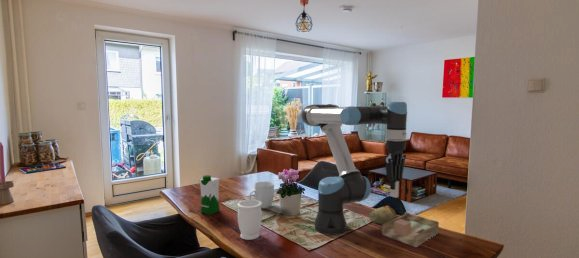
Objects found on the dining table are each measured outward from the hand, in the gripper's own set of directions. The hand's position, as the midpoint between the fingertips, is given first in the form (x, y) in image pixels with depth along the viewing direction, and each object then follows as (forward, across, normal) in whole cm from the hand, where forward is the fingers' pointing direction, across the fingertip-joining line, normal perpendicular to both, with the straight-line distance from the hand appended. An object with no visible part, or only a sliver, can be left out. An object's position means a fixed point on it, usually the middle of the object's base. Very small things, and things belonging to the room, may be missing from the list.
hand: (394, 196), depth 126 cm
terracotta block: (+18, +8, 0) cm, 19 cm away
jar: (+21, -42, +45) cm, 65 cm away
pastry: (+21, +18, +16) cm, 32 cm away
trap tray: (+20, +14, 0) cm, 25 cm away
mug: (+21, -16, +72) cm, 76 cm away
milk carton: (+21, -42, +84) cm, 96 cm away
